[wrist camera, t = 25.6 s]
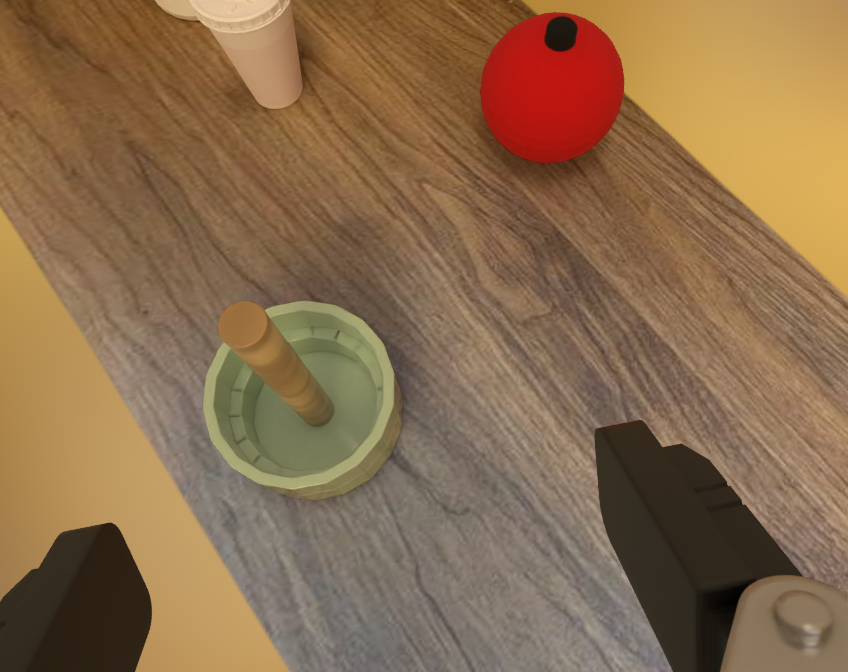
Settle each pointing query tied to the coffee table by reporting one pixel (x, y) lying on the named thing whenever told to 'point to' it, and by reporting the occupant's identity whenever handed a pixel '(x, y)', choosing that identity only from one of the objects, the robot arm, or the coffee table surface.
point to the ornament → (552, 87)
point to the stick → (274, 360)
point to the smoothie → (257, 45)
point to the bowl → (285, 430)
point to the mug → (178, 8)
